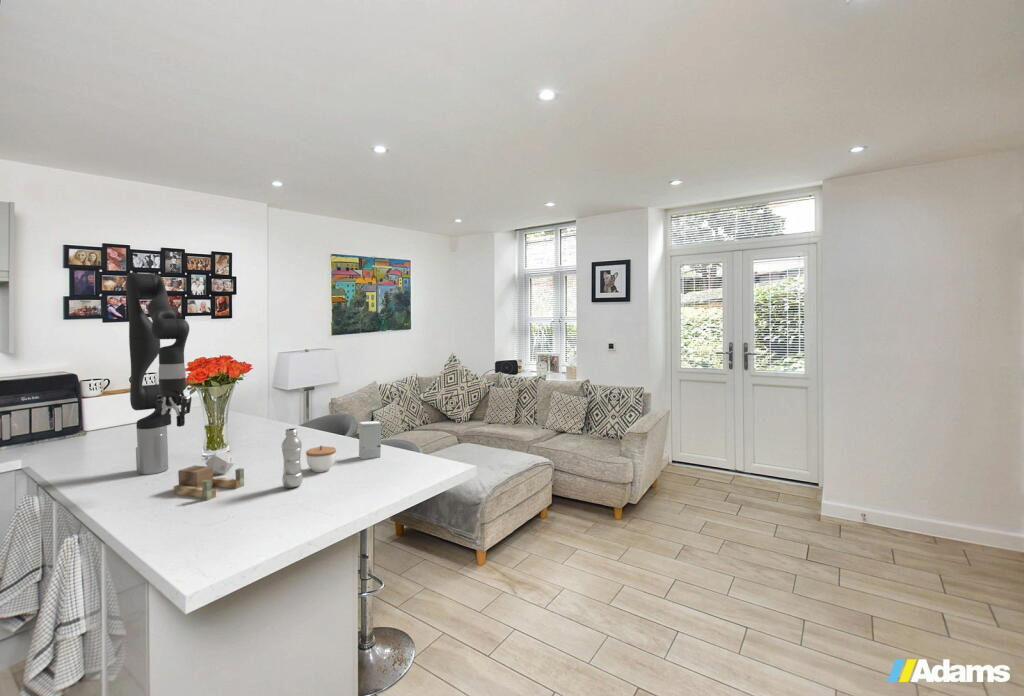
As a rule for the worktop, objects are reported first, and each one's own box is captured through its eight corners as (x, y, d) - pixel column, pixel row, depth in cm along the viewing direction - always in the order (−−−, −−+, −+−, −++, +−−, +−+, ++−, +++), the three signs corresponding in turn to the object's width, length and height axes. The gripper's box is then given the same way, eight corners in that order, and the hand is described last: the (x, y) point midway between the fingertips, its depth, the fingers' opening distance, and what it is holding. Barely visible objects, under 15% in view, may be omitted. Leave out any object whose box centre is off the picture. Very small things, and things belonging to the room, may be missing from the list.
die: (213, 480, 172) (231, 457, 175) (196, 467, 174) (214, 444, 176) (226, 481, 180) (243, 459, 183) (209, 469, 181) (226, 447, 184)
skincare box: (361, 459, 196) (360, 424, 195) (358, 456, 201) (358, 421, 201) (381, 457, 200) (381, 422, 199) (378, 453, 205) (378, 419, 204)
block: (179, 490, 159) (178, 470, 159) (195, 485, 165) (194, 465, 165) (197, 493, 157) (196, 472, 157) (213, 487, 163) (212, 467, 162)
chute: (169, 495, 155) (168, 477, 155) (208, 481, 169) (207, 465, 168) (207, 500, 151) (206, 481, 150) (244, 485, 164) (243, 468, 164)
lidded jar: (316, 475, 175) (315, 451, 175) (301, 470, 182) (300, 446, 181) (341, 468, 184) (341, 445, 183) (326, 464, 190) (326, 441, 190)
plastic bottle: (282, 491, 159) (281, 432, 158) (282, 485, 165) (280, 428, 164) (303, 488, 162) (302, 430, 161) (302, 482, 168) (300, 426, 167)
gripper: (145, 377, 160) (147, 426, 161) (178, 378, 156) (179, 429, 157) (167, 375, 167) (168, 422, 168) (198, 376, 163) (200, 424, 164)
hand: (174, 425), depth 162 cm, fingers open, 5 cm apart
